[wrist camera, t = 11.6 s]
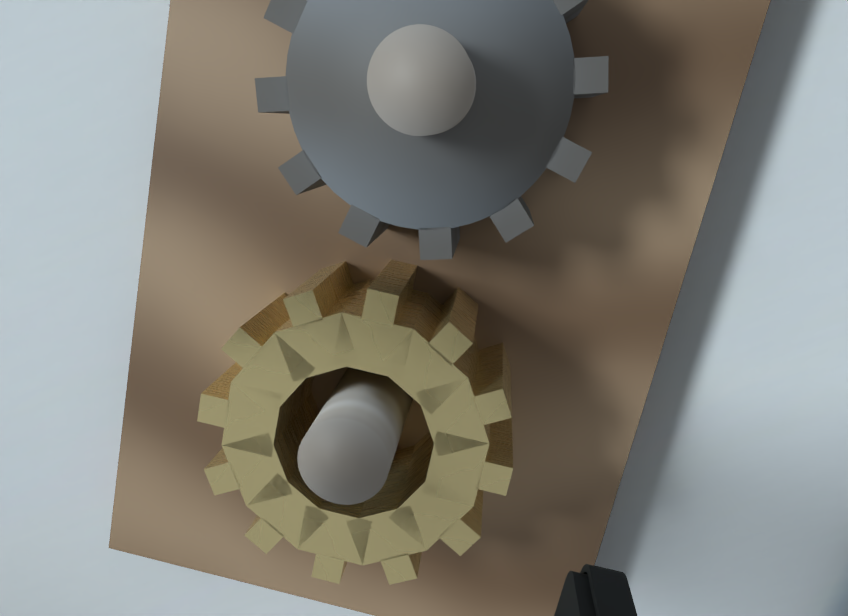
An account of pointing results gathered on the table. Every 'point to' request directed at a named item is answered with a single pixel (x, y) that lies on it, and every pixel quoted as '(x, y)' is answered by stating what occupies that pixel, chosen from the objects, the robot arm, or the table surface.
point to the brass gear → (412, 466)
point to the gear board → (424, 255)
